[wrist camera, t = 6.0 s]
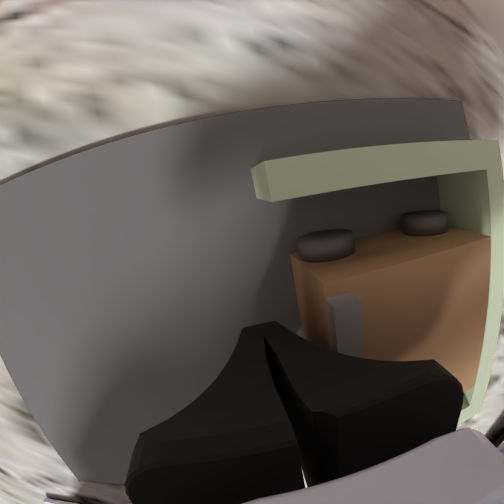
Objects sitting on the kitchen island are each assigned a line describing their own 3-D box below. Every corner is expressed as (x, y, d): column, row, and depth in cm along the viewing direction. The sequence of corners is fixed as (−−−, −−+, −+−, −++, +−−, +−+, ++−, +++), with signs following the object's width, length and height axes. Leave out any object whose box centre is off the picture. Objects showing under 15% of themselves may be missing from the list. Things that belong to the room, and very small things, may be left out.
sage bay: (448, 382, 13) (479, 411, 10) (299, 438, 13) (315, 484, 10) (448, 144, 11) (498, 139, 8) (250, 169, 10) (263, 161, 7)
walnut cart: (427, 359, 13) (479, 404, 9) (311, 400, 12) (342, 469, 8) (427, 207, 11) (502, 220, 7) (286, 236, 11) (328, 265, 7)
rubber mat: (459, 395, 14) (462, 398, 14) (80, 477, 13) (79, 481, 12) (457, 102, 11) (461, 100, 10) (-40, 207, 9) (-44, 208, 9)
